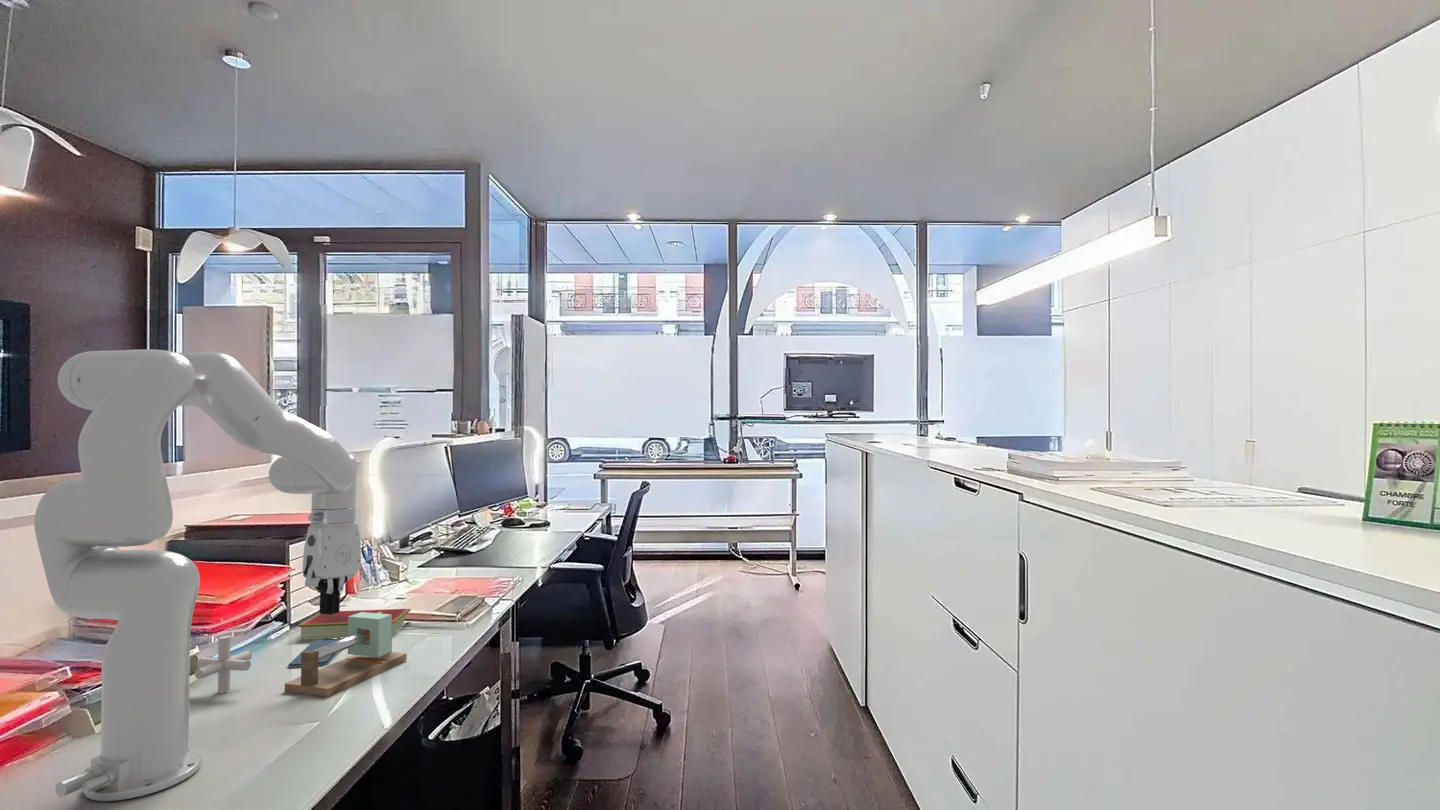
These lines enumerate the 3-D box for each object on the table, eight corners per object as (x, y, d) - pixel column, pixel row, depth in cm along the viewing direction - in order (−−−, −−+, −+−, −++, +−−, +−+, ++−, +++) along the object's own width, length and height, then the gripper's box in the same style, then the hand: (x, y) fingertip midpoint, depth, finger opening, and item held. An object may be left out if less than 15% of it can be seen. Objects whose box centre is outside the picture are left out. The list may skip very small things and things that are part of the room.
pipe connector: (221, 704, 122) (222, 647, 122) (175, 700, 124) (176, 644, 124) (269, 683, 132) (269, 630, 132) (225, 679, 134) (226, 627, 134)
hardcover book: (321, 627, 170) (321, 610, 170) (410, 623, 173) (410, 606, 173) (298, 642, 158) (298, 624, 158) (394, 638, 161) (394, 620, 161)
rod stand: (327, 697, 125) (328, 654, 125) (284, 691, 128) (285, 649, 128) (406, 660, 144) (406, 623, 144) (367, 656, 147) (367, 620, 147)
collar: (378, 657, 138) (378, 619, 138) (347, 654, 140) (348, 616, 141) (391, 651, 142) (391, 614, 142) (361, 648, 144) (361, 611, 144)
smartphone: (286, 664, 140) (313, 639, 155) (286, 673, 140) (313, 647, 155) (327, 661, 142) (349, 637, 156) (327, 670, 142) (349, 644, 156)
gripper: (316, 521, 126) (312, 623, 125) (377, 514, 141) (374, 606, 139) (284, 520, 128) (279, 620, 127) (348, 513, 143) (344, 604, 141)
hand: (329, 613), depth 133 cm, fingers closed
